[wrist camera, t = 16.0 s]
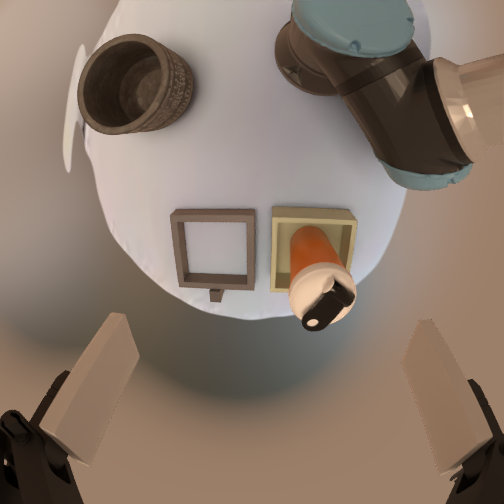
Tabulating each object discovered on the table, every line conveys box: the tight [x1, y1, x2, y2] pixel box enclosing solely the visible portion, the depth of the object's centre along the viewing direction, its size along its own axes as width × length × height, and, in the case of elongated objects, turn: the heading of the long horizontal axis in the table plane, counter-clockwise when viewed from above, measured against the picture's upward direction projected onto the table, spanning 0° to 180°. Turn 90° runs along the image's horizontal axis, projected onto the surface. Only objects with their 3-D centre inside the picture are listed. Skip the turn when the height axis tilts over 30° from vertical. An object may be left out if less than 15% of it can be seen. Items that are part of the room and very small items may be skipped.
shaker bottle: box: [289, 226, 356, 331], centre depth 42 cm, size 9×9×20 cm
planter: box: [77, 34, 193, 135], centre depth 34 cm, size 14×14×15 cm
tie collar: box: [170, 209, 255, 302], centre depth 51 cm, size 17×14×4 cm
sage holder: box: [270, 207, 358, 292], centre depth 48 cm, size 14×14×6 cm
